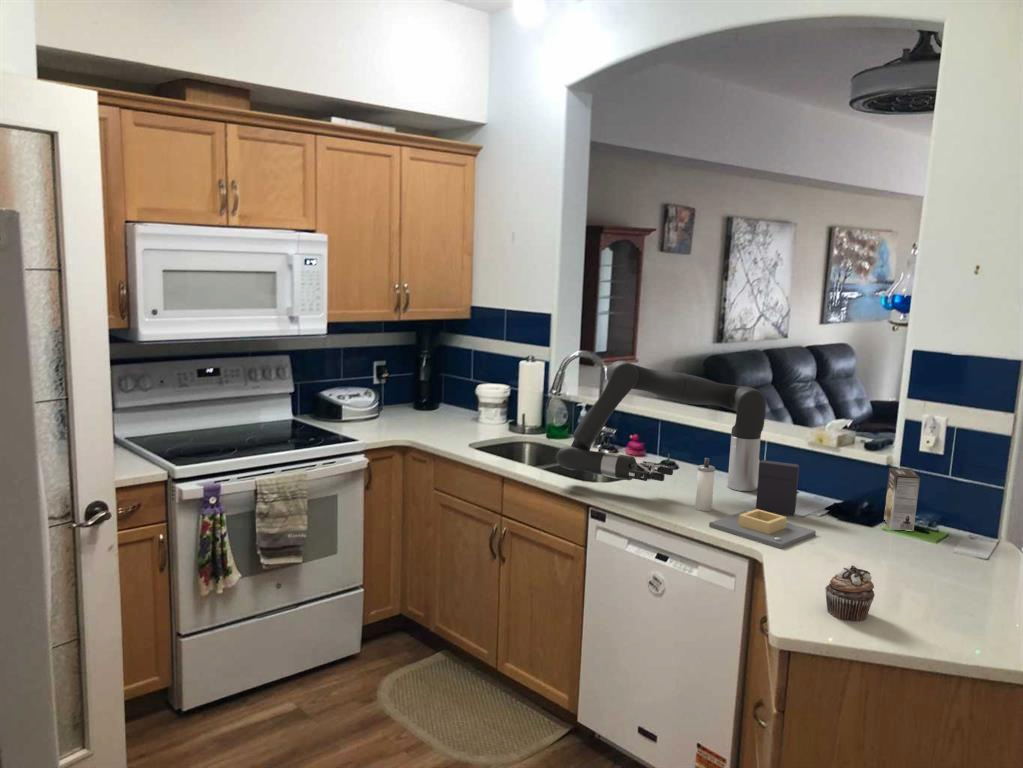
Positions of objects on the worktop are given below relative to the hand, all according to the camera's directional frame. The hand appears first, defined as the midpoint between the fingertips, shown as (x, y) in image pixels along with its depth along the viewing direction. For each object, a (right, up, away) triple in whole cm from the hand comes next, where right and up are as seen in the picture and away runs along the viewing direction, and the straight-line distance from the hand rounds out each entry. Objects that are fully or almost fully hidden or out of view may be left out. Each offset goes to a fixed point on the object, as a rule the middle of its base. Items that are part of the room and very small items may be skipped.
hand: (668, 474), depth 249 cm
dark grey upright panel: (+31, -11, -5) cm, 33 cm away
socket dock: (+21, -13, -23) cm, 34 cm away
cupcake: (+24, -21, -75) cm, 82 cm away
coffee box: (+63, -13, -15) cm, 66 cm away
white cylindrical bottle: (+10, -10, -4) cm, 14 cm away
